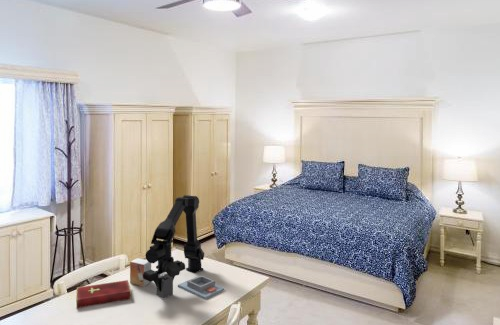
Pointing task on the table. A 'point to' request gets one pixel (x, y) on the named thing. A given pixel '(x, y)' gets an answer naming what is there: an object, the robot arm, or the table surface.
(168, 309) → the table surface
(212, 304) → the table surface
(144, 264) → the small box
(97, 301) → the hardcover book
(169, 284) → the plug
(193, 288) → the socket block
